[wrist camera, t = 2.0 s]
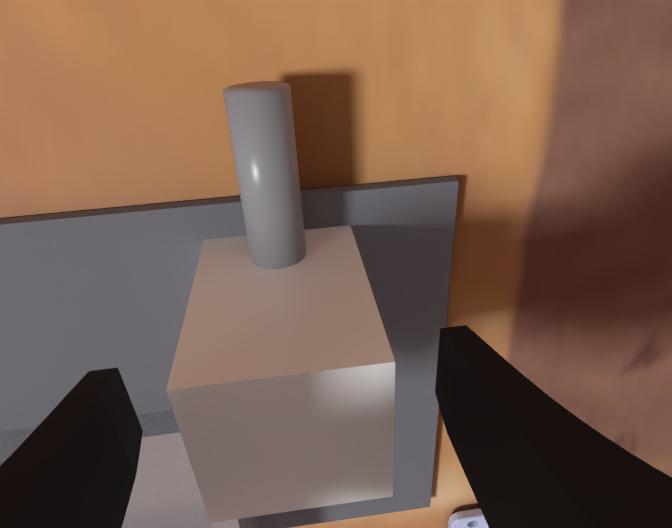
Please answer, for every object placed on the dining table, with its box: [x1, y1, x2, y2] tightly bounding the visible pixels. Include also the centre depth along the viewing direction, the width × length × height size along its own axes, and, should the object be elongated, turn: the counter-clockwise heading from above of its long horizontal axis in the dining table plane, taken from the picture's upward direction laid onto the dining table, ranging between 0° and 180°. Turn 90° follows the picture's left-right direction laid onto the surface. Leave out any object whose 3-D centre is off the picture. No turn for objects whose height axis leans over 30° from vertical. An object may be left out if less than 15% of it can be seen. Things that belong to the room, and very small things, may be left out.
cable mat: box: [0, 176, 459, 528], centre depth 16 cm, size 18×15×1 cm
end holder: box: [0, 410, 263, 528], centre depth 16 cm, size 8×8×3 cm
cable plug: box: [166, 81, 395, 523], centre depth 11 cm, size 4×8×6 cm, turn 3°
